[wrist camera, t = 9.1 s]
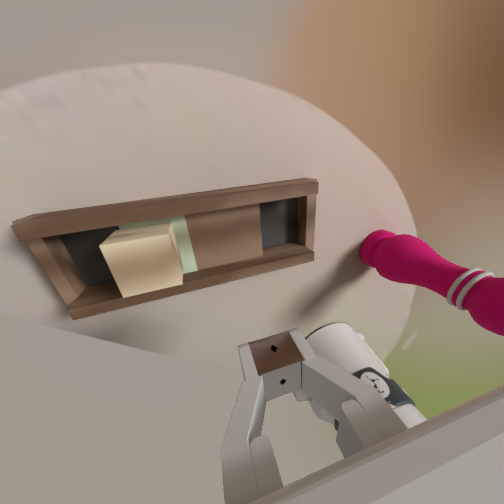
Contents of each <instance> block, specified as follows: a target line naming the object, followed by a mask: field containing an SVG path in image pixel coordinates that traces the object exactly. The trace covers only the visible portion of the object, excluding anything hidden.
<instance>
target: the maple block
mask: <svg viewBox="0 0 504 504" xmlns="http://www.w3.org/2000/svg"><path fill="white" fill-rule="evenodd" d="M99 247H100V249H101V251H102V253H103V256H104V258H105V260H106V262H107V264H108V266H109V268H110V270H111V273H112V275H113V277H114V279H115V281H116V283H117V285H118V287H119V290H120V292H121V294H122V296H123V298H125V297H130V296H134V295H138V294H143V293H147V292H151V291H156V290H160V289H164V288H169V287H173V286H177V285H182V284H183V262H182V259H181V255H180V251H179V248H178V244H177V240H176V237H175V233H174V229H173V226H172V222H165V223H158V224H152V225H145V226H139V227H133V228H126V229H120V230H115V231H114V232H113V233H112V234H111V235H110V236H109V237H108V238H107V239H106V240H105V241H104V242H103V243H101V244H100V245H99Z"/></svg>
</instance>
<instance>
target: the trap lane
mask: <svg viewBox="0 0 504 504" xmlns="http://www.w3.org/2000/svg"><path fill="white" fill-rule="evenodd" d="M316 194H318V182H317V179H310V178H301V179H294V180H286V181H279V182H271V183H264V184H257V185H249V186H242V187H234V188H227V189H219V190H212V191H204V192H197V193H190V194H182V195H175V196H167V197H160V198H152V199H145V200H138V201H130V202H123V203H115V204H108V205H100V206H93V207H86V208H78V209H71V210H63V211H56V212H48V213H41V214H33V215H30V216H27V217H24V218H21V219H18V220H15V221H12V223H13V224H14V225H12V226H11V227H12V229H13V230H14V232H15V233H16V235H17V236H18V238H19V239H20V241H23V240H24V241H25V242H26V244H27V245H28V247H29V248H30V250H31V251H32V253H33V255H34V256H35V258H36V259H37V261H38V262H39V264H40V265H41V267H42V268H43V270H44V271H45V273H46V274H47V276H48V277H49V279H50V280H51V282H52V283H53V285H54V286H55V288H56V289H57V291H58V292H59V294H60V296H61V297H62V299H63V300H64V302H65V303H66V305H67V306H68V308H69V309H68V310H67V311H68V312H69V314H70V315H71V317H72V318H73V320H76V319H80V318H84V317H88V316H92V315H96V314H100V313H105V312H109V311H113V310H117V309H121V308H125V307H129V306H133V305H137V304H141V303H145V302H149V301H153V300H157V299H161V298H165V297H169V296H173V295H177V294H181V293H185V292H189V291H194V290H198V289H202V288H206V287H210V286H214V285H218V284H222V283H226V282H230V281H234V280H238V279H242V278H246V277H250V276H254V275H258V274H262V273H266V272H270V271H274V270H278V269H283V268H287V267H291V266H295V265H299V264H303V263H307V262H311V261H314V252H313V246H314V228H315V210H316ZM165 222H172V226H173V229H174V233H175V237H176V240H177V244H178V248H179V251H180V255H181V259H182V262H183V284H182V285H177V286H173V287H169V288H164V289H160V290H156V291H151V292H147V293H143V294H138V295H134V296H130V297H125V298H123V296H122V294H121V292H120V290H119V287H118V285H117V283H116V281H115V279H114V277H113V275H112V273H111V270H110V268H109V266H108V264H107V262H106V260H105V258H104V256H103V253H102V251H101V249H100V247H99V245H100V244H101V243H103V242H104V241H105V240H106V239H107V238H108V237H109V236H110V235H111V234H112V233H113V232H114V231H115V230H120V229H126V228H133V227H139V226H145V225H152V224H158V223H165Z"/></svg>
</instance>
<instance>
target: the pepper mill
mask: <svg viewBox="0 0 504 504" xmlns="http://www.w3.org/2000/svg"><path fill="white" fill-rule="evenodd" d="M360 258H361V260H362V261H363V262H364V263H366V264H367V265H369V266H371V267H374V268H376V270H377V272H378V273H379V274H380V275H381V276H382V277H384V278H387V279H389V280H391V281H395V282H399V283H407V284H414V285H419V286H422V287H426V288H428V289H430V290H433V291H435V292H437V293H438V294H440V295H442V296H443V297H445V298H447V302H448V303H449V304H450V305H454V306H456V307H457V308H458V309H460V310H468V311H469V313H470V314H471V317H472V318H473V320H474V321H475V322H476V323H478V324H479V325H480V326H482V327H483V328H485V329H487V330H489V331H491V332H493V333H496V334H499V335H502V336H504V278H495V275H494V274H493V273H491V272H485V271H483V270H482V269H480V268H472V269H468V268H464V267H460V266H458V265H455V264H453V263H451V262H449V261H447V260H446V259H444V258H442V257H441V256H440V255H438V254H437V253H436V252H435V251H434V250H433V249H432V248H430V246H429V245H427V244H426V243H425V242H423V241H422V240H420V239H419V238H416V237H414V236H411V235H406V234H402V235H396V234H394V233H392V232H389V231H386V230H378V231H375V232H373V233H372V234H370V235H369V236H368V237H367V238H366V239H365V241H364V243H363V244H362V247H361V250H360Z"/></svg>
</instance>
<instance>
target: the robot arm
mask: <svg viewBox="0 0 504 504" xmlns="http://www.w3.org/2000/svg"><path fill="white" fill-rule="evenodd" d="M364 340H365V337H364V336H363V335H362V334H361V333H359V332H355V331H354V330H353V329H352V328H351V327H350V326H349V325H347V324H344V323H336V324H331V325H328V326H325V327H323V328H321V329H319V330H317V331H316V332H314V333H313V334H312V335H310V336H309V337H308V338H307V339H306V340H305V338H304V336H303V335H302V333H301V332H300V330H299V329H298V328H295V329H292V330H289V331H285V332H282V333H279V334H275V335H272V336H269V337H267V338H264V339H260V340H256V341H253V342H249V343H246V344H242V345H239V346H238V351H239V357H240V362H241V367H242V372H243V376H244V381H243V382H242V384H241V387H240V390H239V393H238V397H237V400H236V403H235V406H234V409H233V413H232V415H231V419H230V422H229V425H228V428H227V431H226V434H225V438H224V441H223V444H222V447H221V462H222V474H223V486H224V499H225V504H504V384H503V385H501V386H499V387H497V388H494V389H492V390H490V391H488V392H486V393H484V394H482V395H480V396H477V397H475V398H473V399H471V400H469V401H467V402H464V403H462V404H461V405H458V406H456V407H454V408H452V409H450V410H447V411H445V412H443V413H441V414H439V415H437V416H434V417H432V418H430V419H428V420H427V419H426V418H425V417H424V416H423V415H422V414H421V413H420V412H419V411H418V410H417V409H416V408H415V403H414V402H413V401H412V399H410V397H409V396H408V394H407V393H406V392H405V391H404V390H403V389H402V388H401V387H400V386H399V385H398V384H397V383H396V382H395V381H394V380H392V379H389V372H388V369H387V368H386V367H385V365H384V364H383V363H382V362H381V361H380V360H379V358H378V357H377V356H376V355H375V354H374V352H373V351H372V350H371V349H370V348H369V347H368V345H367V344H366V343H365V342H364ZM290 392H293V393H294V396H295V398H296V399H297V401H306V400H308V401H309V403H310V405H311V407H312V409H313V411H314V413H315V414H316V416H317V417H318V418H320V419H322V420H325V421H327V422H329V423H331V424H333V425H334V426H335V429H336V430H337V437H336V442H337V444H338V446H339V448H340V450H341V452H342V454H343V456H344V459H342V460H340V461H338V462H336V463H334V464H332V465H330V466H327V467H325V468H323V469H321V470H319V471H317V472H314V473H312V474H310V475H308V476H306V477H304V478H302V479H300V480H297V481H295V482H293V483H291V484H289V485H287V486H285V487H283V484H282V481H281V477H280V474H279V470H278V466H277V463H276V459H275V456H274V452H273V449H272V445H271V442H270V438H269V437H267V436H266V435H261V431H262V425H263V418H264V412H265V406H266V401H269V400H271V399H274V398H276V397H278V396H281V395H283V394H287V393H290Z"/></svg>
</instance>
